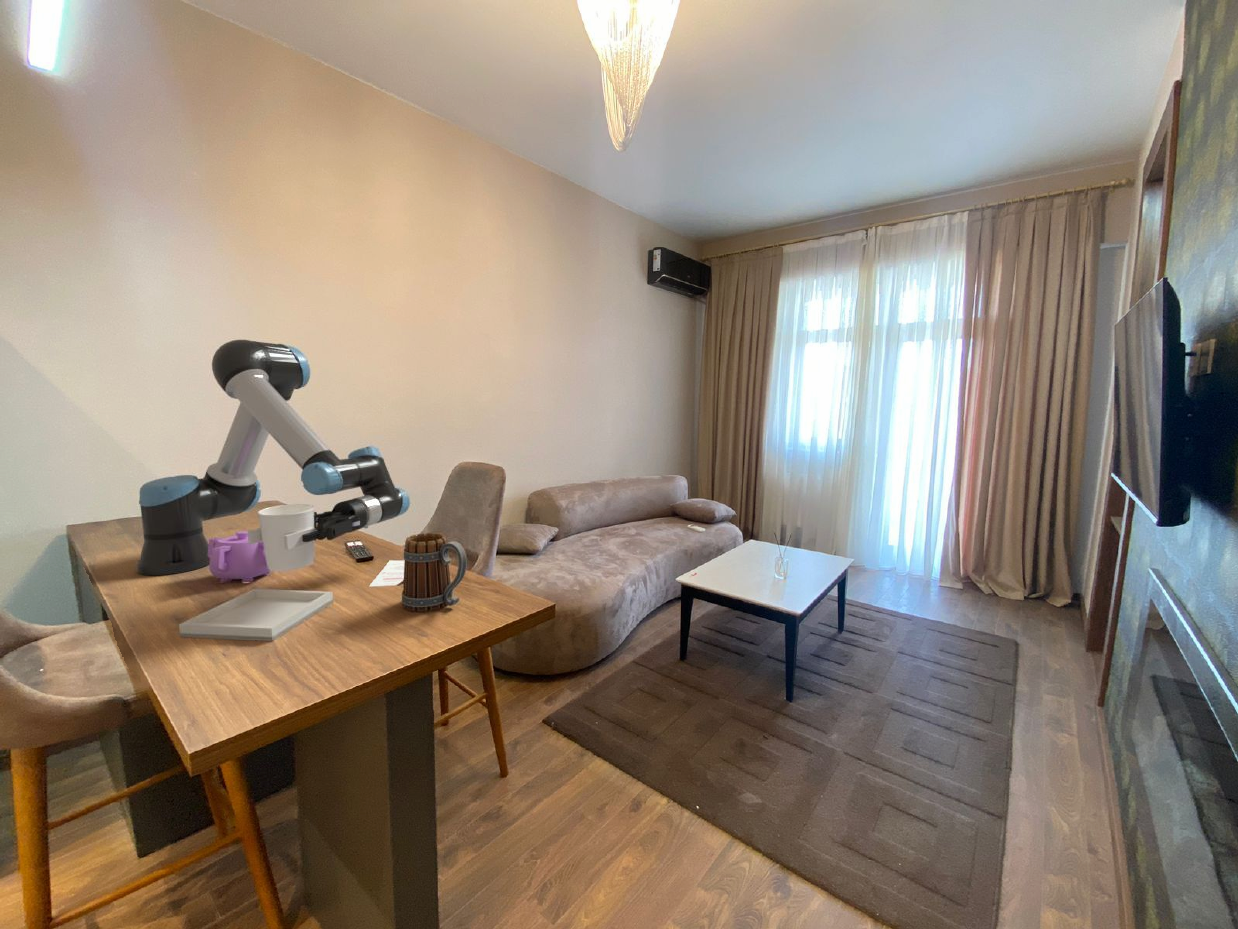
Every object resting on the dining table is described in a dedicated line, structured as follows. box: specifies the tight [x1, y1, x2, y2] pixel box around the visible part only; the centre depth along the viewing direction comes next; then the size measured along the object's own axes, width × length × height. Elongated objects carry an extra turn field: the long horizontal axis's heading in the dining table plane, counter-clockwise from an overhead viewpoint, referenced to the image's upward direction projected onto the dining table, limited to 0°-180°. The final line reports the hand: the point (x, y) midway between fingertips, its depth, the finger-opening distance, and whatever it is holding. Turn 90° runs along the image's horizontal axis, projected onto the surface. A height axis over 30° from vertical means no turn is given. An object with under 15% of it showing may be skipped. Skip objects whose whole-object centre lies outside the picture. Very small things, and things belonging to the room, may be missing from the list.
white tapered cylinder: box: [257, 503, 315, 573], centre depth 104 cm, size 10×10×12 cm
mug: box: [401, 532, 468, 613], centre depth 109 cm, size 16×11×15 cm
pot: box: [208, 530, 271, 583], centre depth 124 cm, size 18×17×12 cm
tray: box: [178, 588, 334, 642], centre depth 102 cm, size 18×18×2 cm
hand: (267, 540), depth 100 cm, fingers closed on white tapered cylinder, 9 cm apart
